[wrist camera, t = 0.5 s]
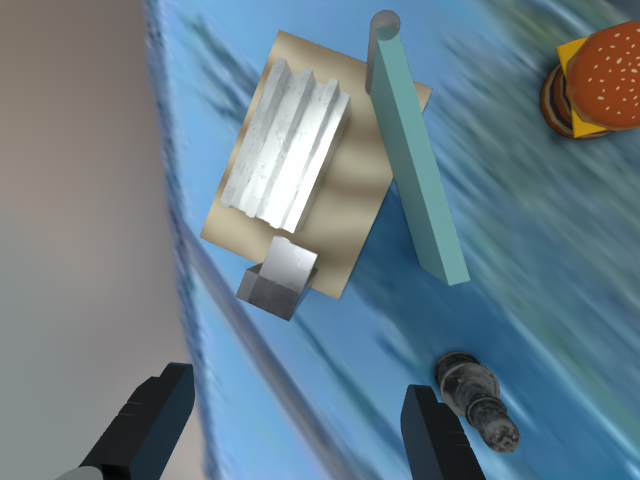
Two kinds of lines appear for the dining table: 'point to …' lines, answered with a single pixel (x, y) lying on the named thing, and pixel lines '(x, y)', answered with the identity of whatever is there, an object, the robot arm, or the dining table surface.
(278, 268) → the cooler block
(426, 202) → the teal upright panel
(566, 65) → the hamburger
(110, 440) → the robot arm
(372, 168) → the mounting board
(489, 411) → the chess piece
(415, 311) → the dining table surface
